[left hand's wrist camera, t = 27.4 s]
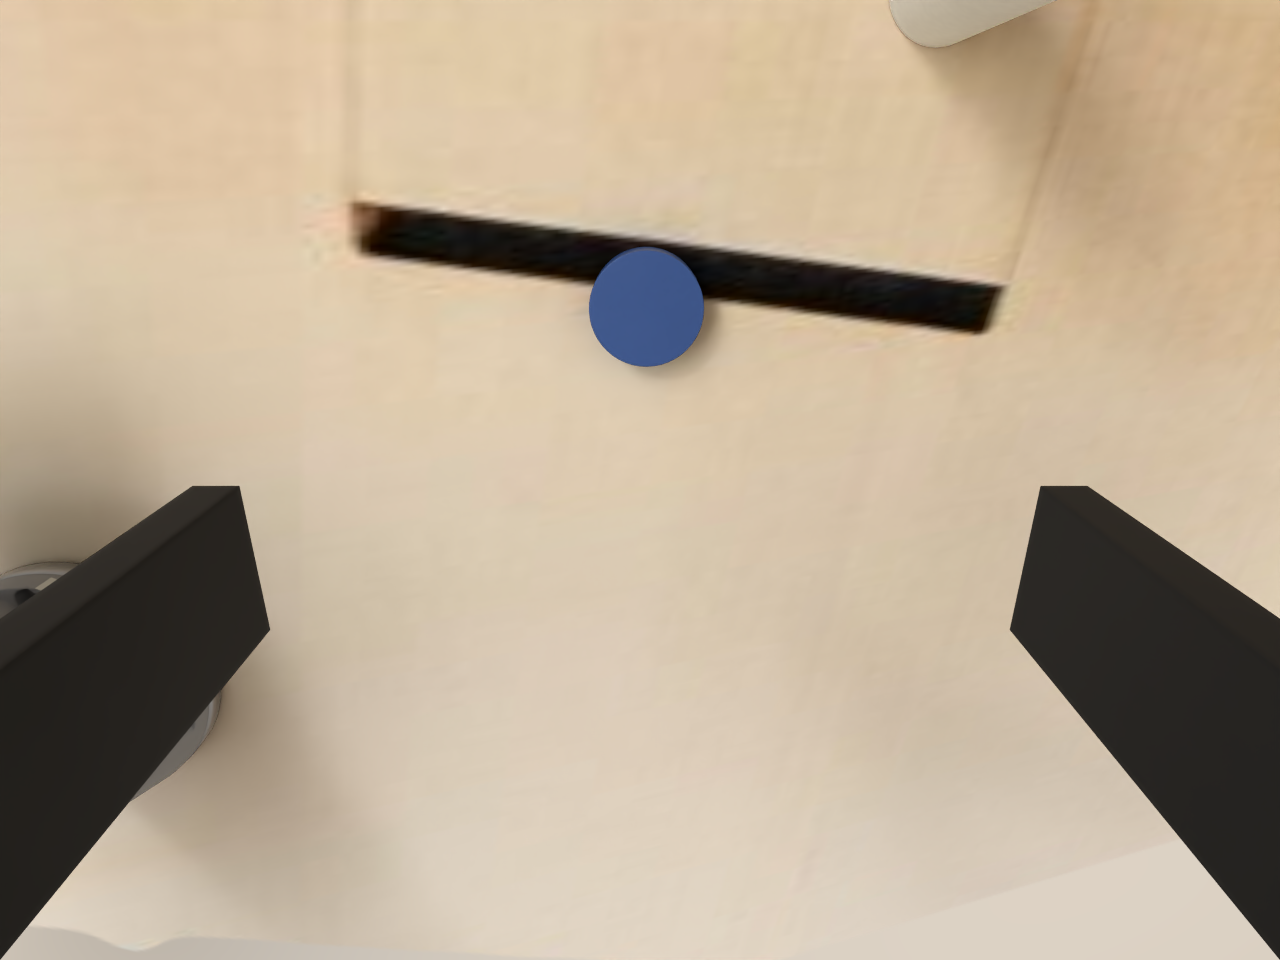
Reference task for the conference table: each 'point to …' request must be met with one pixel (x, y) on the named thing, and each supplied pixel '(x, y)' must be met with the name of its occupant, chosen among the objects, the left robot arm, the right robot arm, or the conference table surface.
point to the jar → (955, 18)
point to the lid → (646, 307)
